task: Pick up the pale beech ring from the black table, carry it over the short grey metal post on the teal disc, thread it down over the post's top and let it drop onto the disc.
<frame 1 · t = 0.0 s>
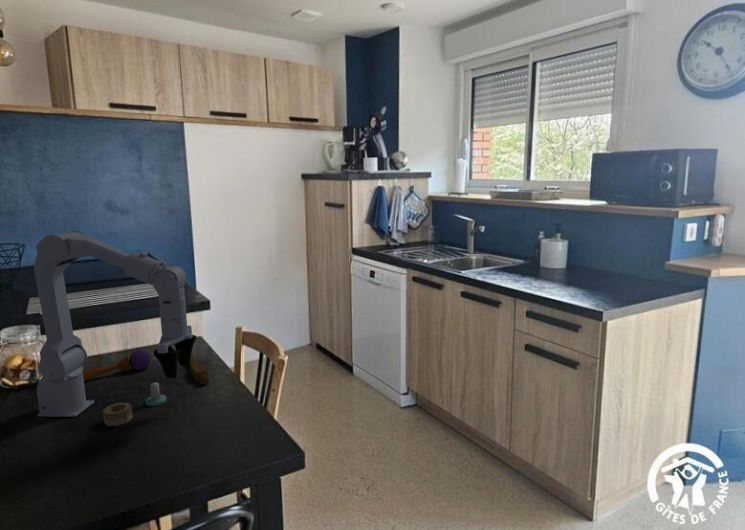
hand: (178, 371, 118), 10 cm above the table, tool pointing down, fingers open, 7 cm apart
post: (156, 401, 125), on the table
kendama: (115, 375, 143), on the table
tap handle: (194, 369, 147), on the table
ring: (118, 419, 116), on the table
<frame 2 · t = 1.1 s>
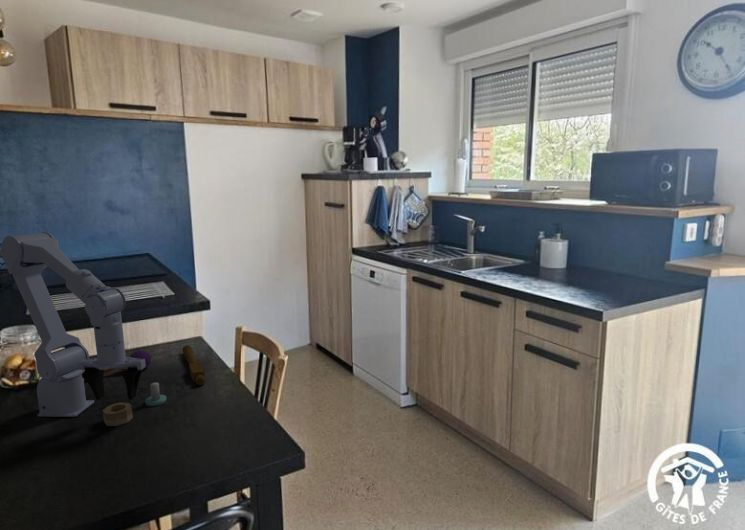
hand: (116, 397, 115), 6 cm above the table, tool pointing down, fingers open, 7 cm apart
nothing on the table moved.
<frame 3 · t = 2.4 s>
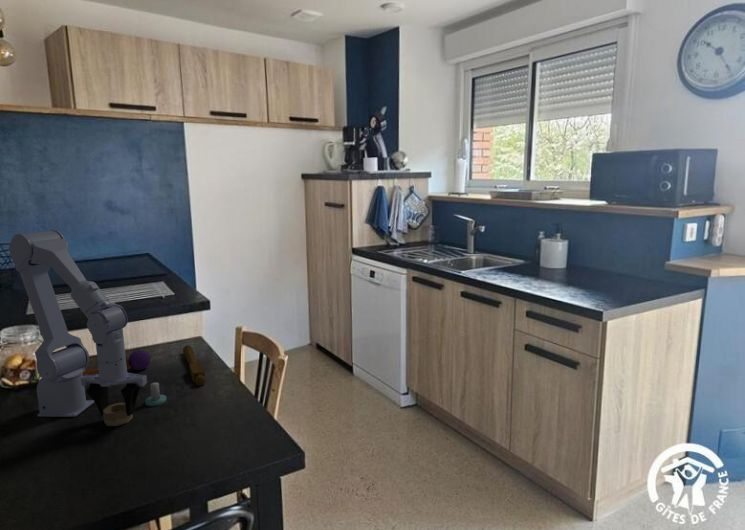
hand: (117, 413, 115), 2 cm above the table, tool pointing down, fingers closed on ring, 6 cm apart
ring: (118, 419, 116), on the table, touching gripper
everything else where it was.
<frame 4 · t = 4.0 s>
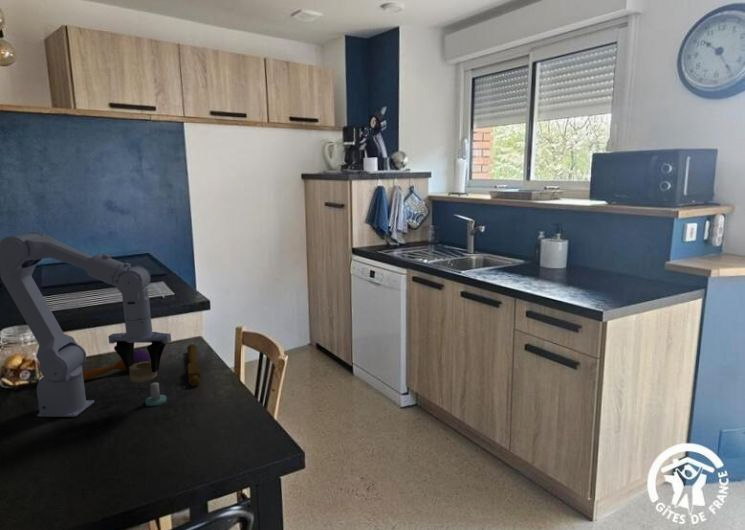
hand: (143, 370, 121), 9 cm above the table, tool pointing down, fingers closed on ring, 6 cm apart
ring: (143, 377, 121), point 8 cm above the table, touching gripper
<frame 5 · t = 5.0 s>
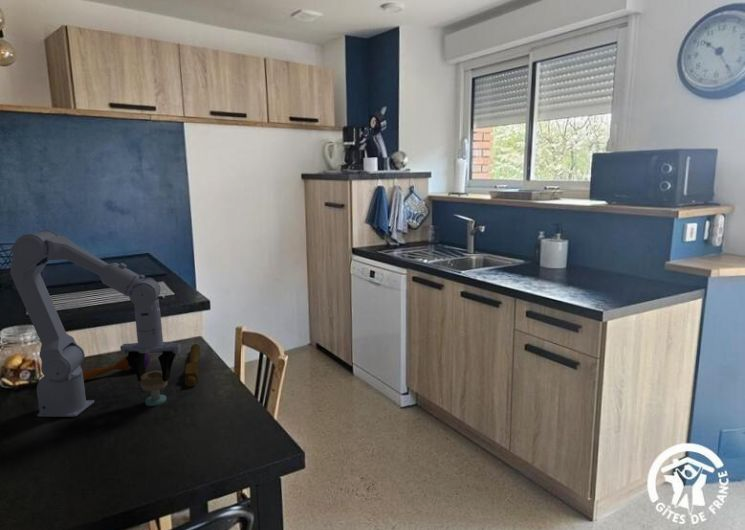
hand: (154, 379, 124), 6 cm above the table, tool pointing down, fingers closed on ring, 6 cm apart
ring: (154, 386, 124), point 4 cm above the table, touching gripper
when the fingers open (5 cm above the table, at t = 5.8 s): ring drops 3 cm, resting on post.
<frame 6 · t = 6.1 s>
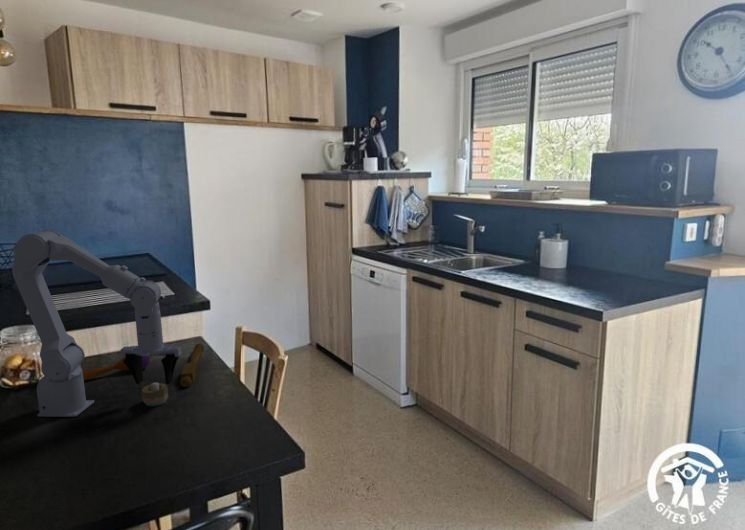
hand: (154, 382, 124), 5 cm above the table, tool pointing down, fingers open, 7 cm apart
ring: (155, 399, 125), point 1 cm above the table, touching post
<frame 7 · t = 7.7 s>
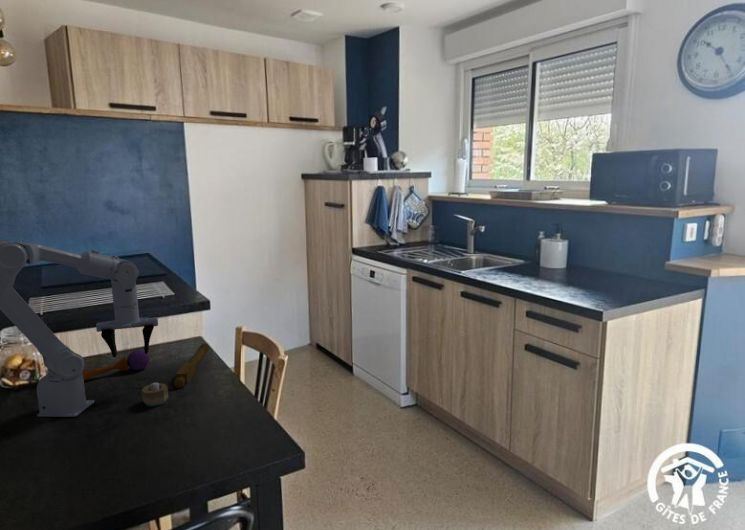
hand: (130, 354, 131), 10 cm above the table, tool pointing down, fingers open, 7 cm apart
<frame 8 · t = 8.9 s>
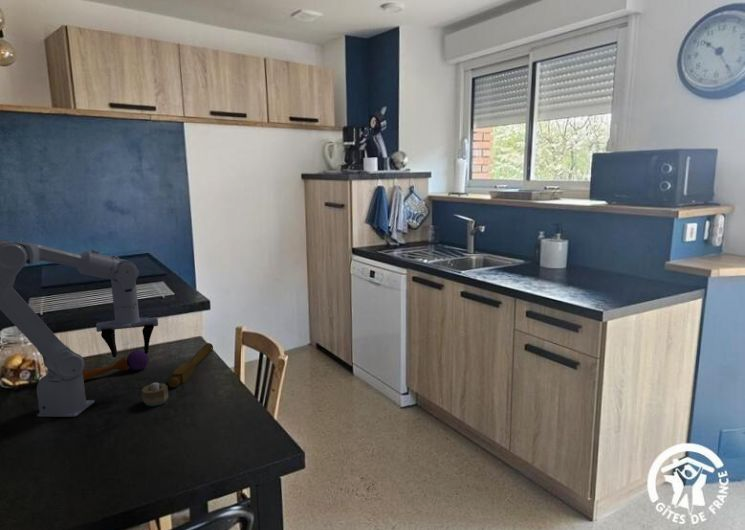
hand: (130, 354, 131), 10 cm above the table, tool pointing down, fingers open, 7 cm apart
at the end: ring 0.1 cm off-centre on the post, point 0.8 cm above the post's base; the gripper is holding nothing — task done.
